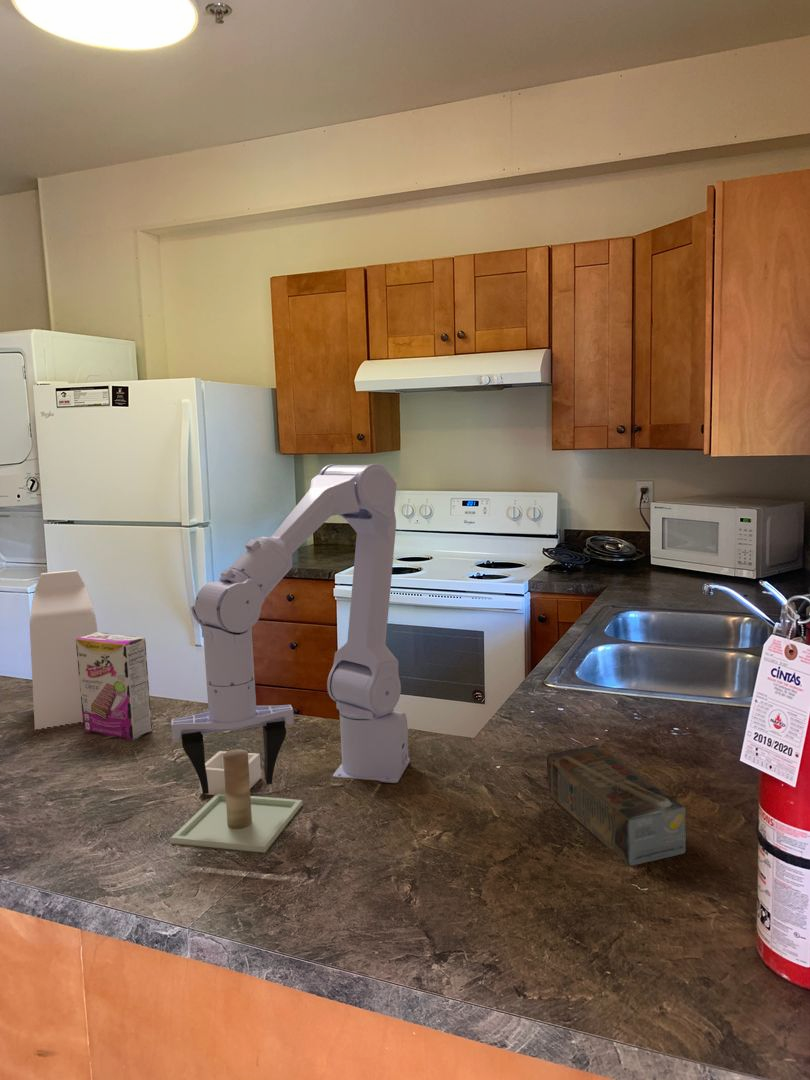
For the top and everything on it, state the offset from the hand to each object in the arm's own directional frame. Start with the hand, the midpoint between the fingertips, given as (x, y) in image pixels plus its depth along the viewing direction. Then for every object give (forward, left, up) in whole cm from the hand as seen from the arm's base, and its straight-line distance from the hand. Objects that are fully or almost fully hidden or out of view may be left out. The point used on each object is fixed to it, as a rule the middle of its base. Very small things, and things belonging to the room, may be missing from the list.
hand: (237, 785), depth 98 cm
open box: (+6, -10, -5) cm, 13 cm away
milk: (+49, -34, -6) cm, 60 cm away
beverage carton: (-45, -9, -6) cm, 46 cm away
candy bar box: (+35, -27, -6) cm, 45 cm away
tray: (0, 0, -5) cm, 5 cm away
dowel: (0, 0, -5) cm, 5 cm away
